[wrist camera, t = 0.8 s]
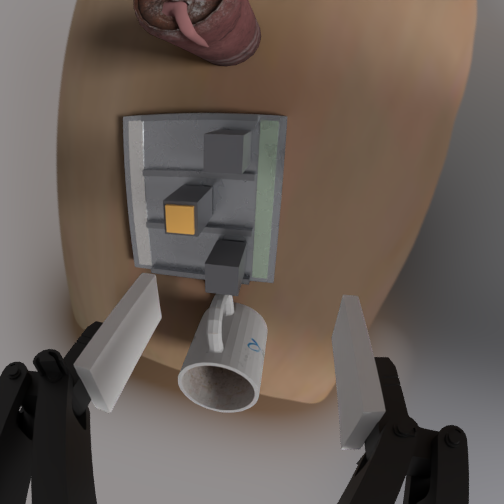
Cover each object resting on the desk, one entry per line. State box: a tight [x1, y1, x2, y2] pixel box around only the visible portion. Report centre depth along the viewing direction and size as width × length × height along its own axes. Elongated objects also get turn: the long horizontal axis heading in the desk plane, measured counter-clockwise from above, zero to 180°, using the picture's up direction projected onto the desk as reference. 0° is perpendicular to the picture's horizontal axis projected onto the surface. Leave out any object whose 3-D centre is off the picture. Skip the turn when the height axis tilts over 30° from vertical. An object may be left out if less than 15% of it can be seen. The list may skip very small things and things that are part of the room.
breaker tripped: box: [163, 185, 212, 237], centre depth 27 cm, size 3×3×5 cm
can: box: [134, 0, 261, 66], centre depth 17 cm, size 6×6×14 cm
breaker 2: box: [205, 240, 247, 296], centre depth 29 cm, size 3×3×5 cm
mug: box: [178, 294, 267, 412], centre depth 33 cm, size 12×9×10 cm
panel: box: [123, 113, 287, 284], centre depth 30 cm, size 17×16×2 cm
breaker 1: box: [203, 129, 252, 174], centre depth 24 cm, size 3×3×5 cm
